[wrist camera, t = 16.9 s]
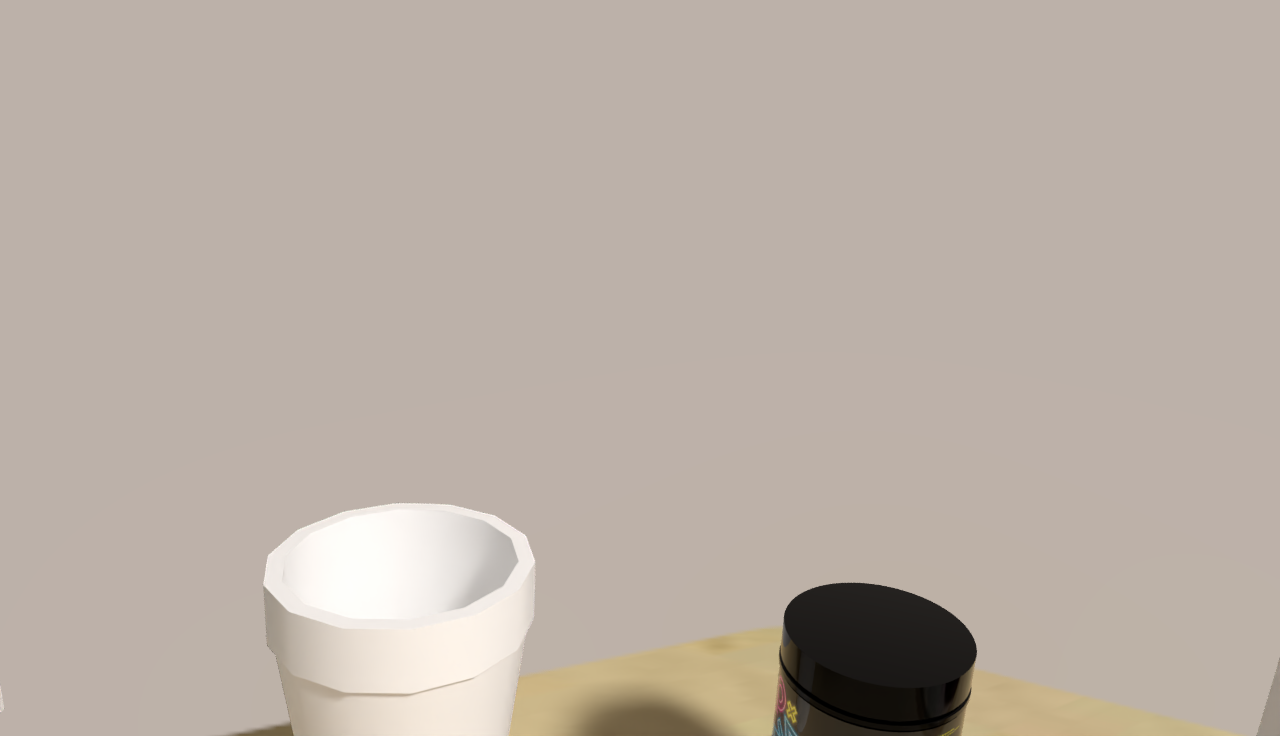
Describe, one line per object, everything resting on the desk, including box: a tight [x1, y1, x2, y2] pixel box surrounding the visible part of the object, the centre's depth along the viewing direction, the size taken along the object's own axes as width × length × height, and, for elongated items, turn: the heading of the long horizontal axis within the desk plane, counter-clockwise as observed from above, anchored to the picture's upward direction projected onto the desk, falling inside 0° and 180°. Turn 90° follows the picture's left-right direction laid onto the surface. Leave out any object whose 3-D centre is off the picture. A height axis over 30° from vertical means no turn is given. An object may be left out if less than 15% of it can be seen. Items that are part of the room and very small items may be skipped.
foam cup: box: [263, 503, 535, 736], centre depth 37 cm, size 10×9×13 cm
